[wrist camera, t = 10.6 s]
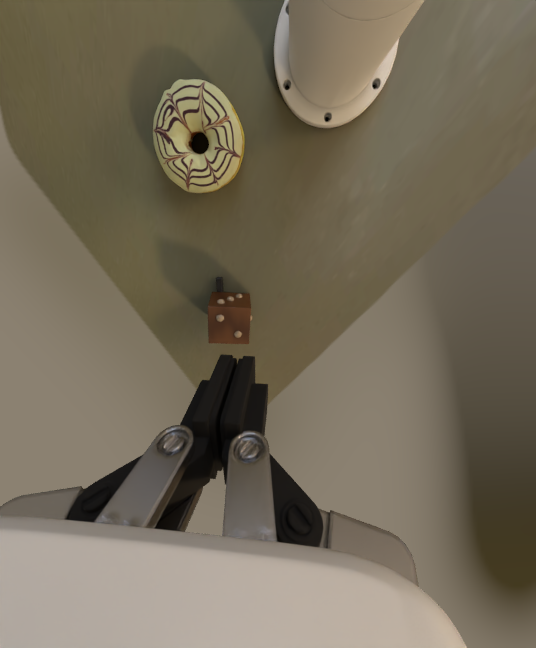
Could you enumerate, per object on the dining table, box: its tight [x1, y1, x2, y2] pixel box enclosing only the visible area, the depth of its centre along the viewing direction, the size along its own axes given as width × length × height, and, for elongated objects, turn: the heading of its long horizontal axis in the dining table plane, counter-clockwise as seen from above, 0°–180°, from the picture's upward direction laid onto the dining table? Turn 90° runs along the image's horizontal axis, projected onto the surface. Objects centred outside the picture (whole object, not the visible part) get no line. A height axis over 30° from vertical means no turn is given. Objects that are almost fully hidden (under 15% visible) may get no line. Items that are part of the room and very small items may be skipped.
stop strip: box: [216, 277, 223, 292], centre depth 40 cm, size 10×1×1 cm, turn 179°
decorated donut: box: [153, 79, 245, 193], centre depth 28 cm, size 10×11×4 cm
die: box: [208, 292, 252, 344], centre depth 37 cm, size 6×6×6 cm
